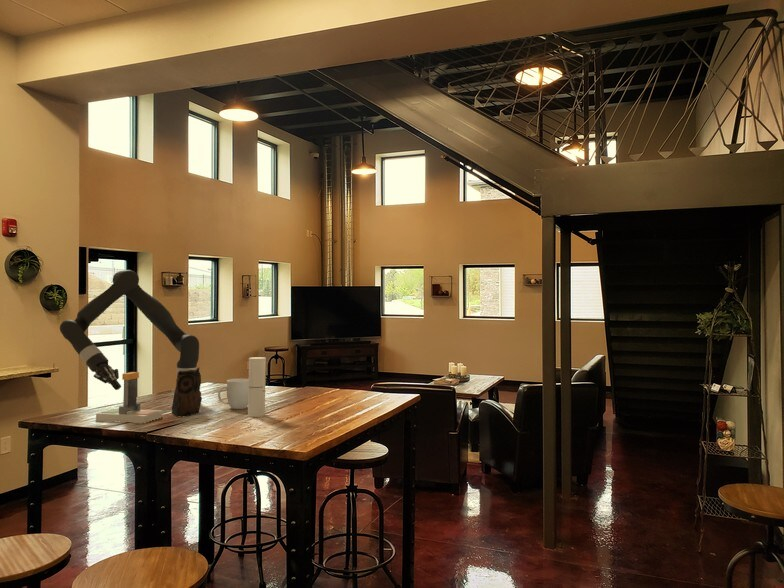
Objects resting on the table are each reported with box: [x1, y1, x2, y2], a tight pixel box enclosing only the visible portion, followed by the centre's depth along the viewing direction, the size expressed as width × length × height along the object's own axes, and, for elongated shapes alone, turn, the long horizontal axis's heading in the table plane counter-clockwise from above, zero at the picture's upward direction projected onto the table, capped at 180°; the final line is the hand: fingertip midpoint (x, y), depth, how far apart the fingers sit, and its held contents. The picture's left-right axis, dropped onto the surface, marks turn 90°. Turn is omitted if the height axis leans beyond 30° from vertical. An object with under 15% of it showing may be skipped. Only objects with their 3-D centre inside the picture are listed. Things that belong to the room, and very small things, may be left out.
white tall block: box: [247, 356, 267, 418], centre depth 239 cm, size 7×7×25 cm
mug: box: [217, 378, 249, 410], centre depth 255 cm, size 15×11×13 cm
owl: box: [171, 366, 203, 418], centre depth 240 cm, size 13×13×20 cm
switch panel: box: [95, 402, 163, 424], centre depth 227 cm, size 22×12×6 cm, turn 80°
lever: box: [121, 371, 140, 412], centre depth 227 cm, size 3×6×16 cm, turn 170°
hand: (118, 388), depth 228 cm, fingers closed
